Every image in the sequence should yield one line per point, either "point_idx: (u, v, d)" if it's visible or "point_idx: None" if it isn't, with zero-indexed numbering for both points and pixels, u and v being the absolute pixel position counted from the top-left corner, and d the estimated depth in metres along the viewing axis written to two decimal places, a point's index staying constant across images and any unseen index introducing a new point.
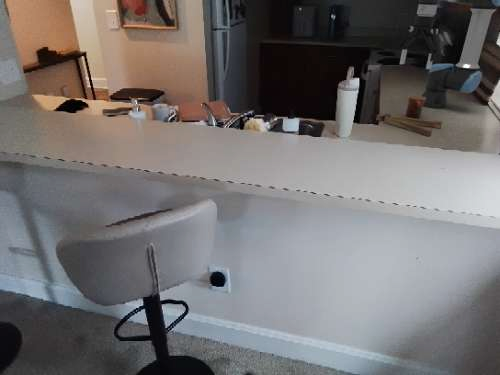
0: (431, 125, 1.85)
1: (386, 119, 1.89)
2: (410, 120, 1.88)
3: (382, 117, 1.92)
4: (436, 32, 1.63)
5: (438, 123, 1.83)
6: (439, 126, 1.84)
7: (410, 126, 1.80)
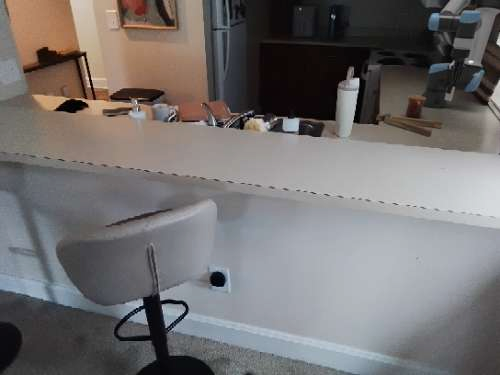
0: (431, 125, 1.85)
1: (386, 119, 1.89)
2: (410, 120, 1.88)
3: (382, 117, 1.92)
4: (448, 68, 1.74)
5: (438, 123, 1.83)
6: (439, 126, 1.84)
7: (410, 126, 1.80)
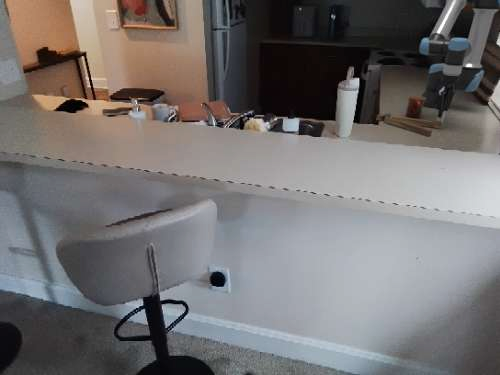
0: (431, 125, 1.85)
1: (386, 119, 1.89)
2: (410, 120, 1.88)
3: (382, 117, 1.92)
4: (438, 94, 1.77)
5: (438, 123, 1.83)
6: (439, 126, 1.83)
7: (410, 126, 1.80)
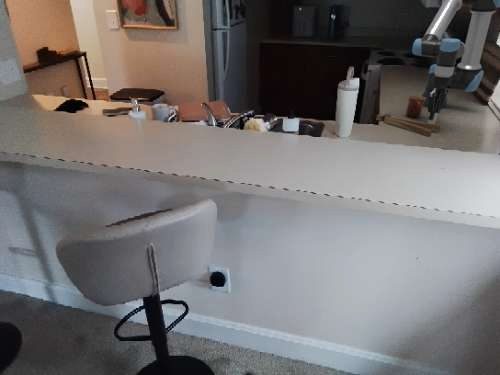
0: (428, 128, 1.81)
1: (386, 119, 1.89)
2: (408, 122, 1.86)
3: (382, 117, 1.92)
4: (430, 95, 1.73)
5: (435, 127, 1.78)
6: (436, 130, 1.78)
7: (410, 126, 1.80)
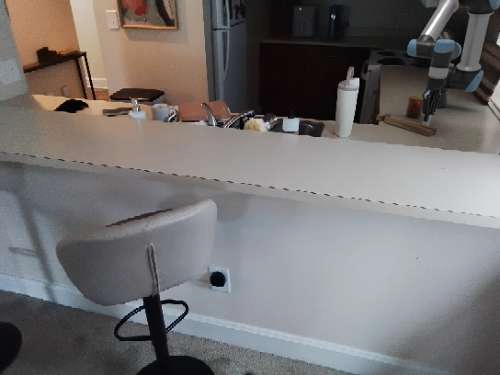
0: None
1: (386, 119, 1.89)
2: None
3: (382, 117, 1.92)
4: (424, 97, 1.71)
5: (430, 129, 1.75)
6: None
7: (410, 126, 1.80)
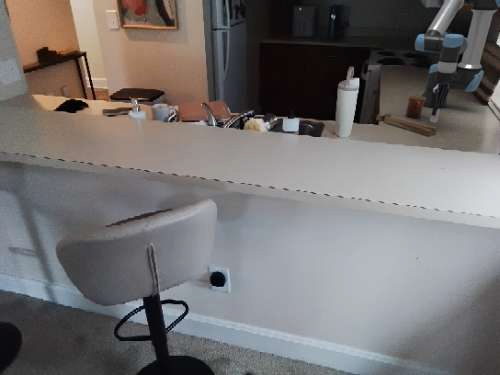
0: None
1: (386, 119, 1.89)
2: None
3: (382, 117, 1.92)
4: (432, 91, 1.74)
5: (430, 129, 1.75)
6: None
7: (410, 126, 1.80)
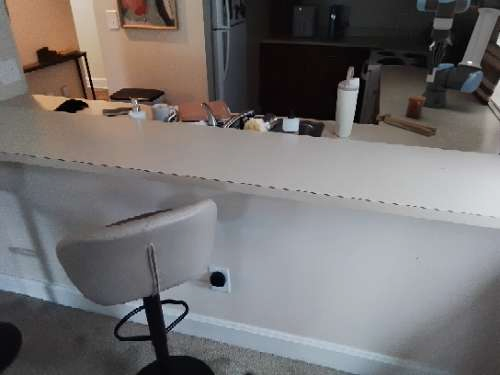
0: None
1: (386, 119, 1.89)
2: None
3: (382, 117, 1.92)
4: (429, 49, 1.73)
5: (430, 129, 1.75)
6: None
7: (410, 126, 1.80)
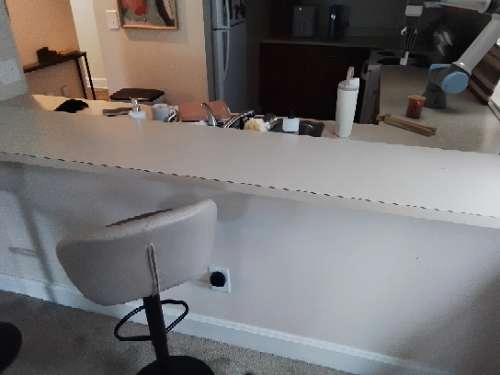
0: None
1: (386, 119, 1.89)
2: None
3: (382, 117, 1.92)
4: (401, 34, 1.90)
5: (430, 129, 1.75)
6: None
7: (410, 126, 1.80)
